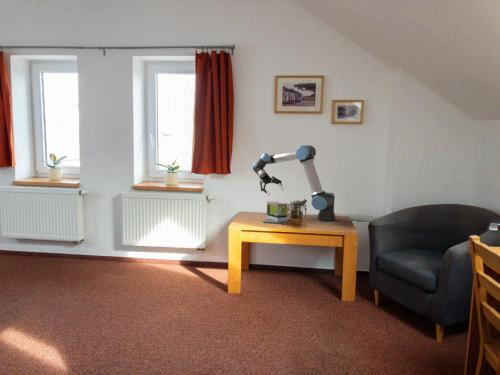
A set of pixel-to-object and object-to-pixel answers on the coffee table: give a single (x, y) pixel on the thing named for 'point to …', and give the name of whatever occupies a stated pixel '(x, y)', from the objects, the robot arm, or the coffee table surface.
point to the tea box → (277, 211)
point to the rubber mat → (275, 221)
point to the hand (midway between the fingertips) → (276, 192)
